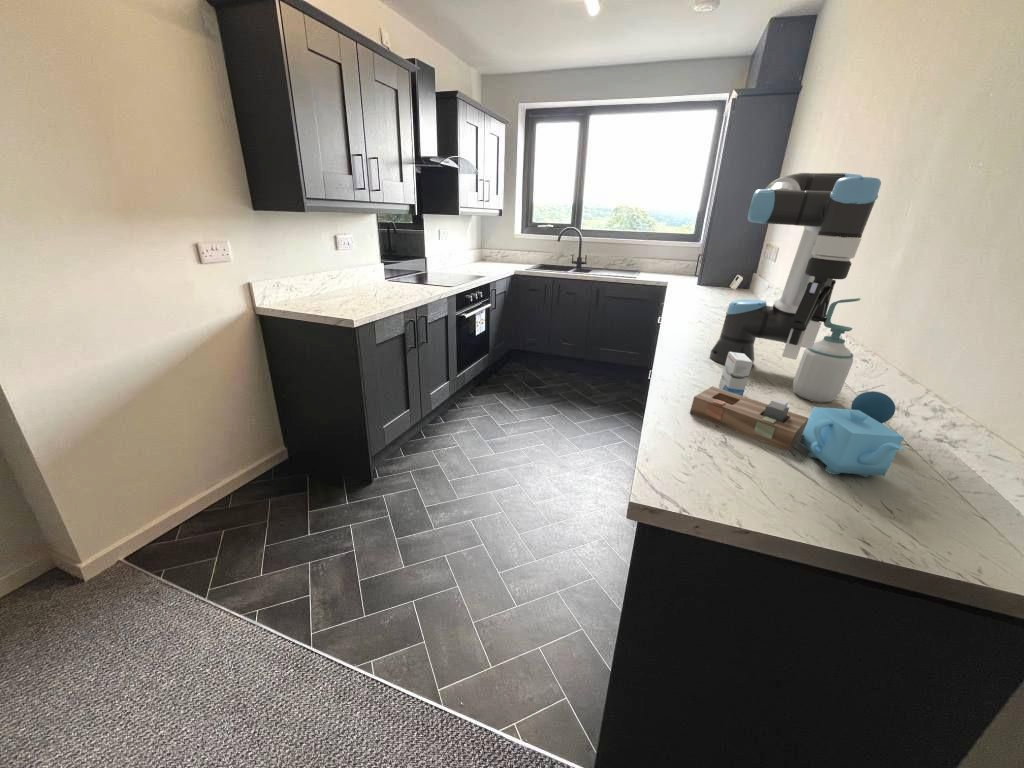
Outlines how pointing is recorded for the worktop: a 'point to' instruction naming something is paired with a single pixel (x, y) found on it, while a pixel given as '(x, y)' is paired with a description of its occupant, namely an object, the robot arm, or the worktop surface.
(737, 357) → the ink box
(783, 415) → the plug
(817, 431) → the teapot
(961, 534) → the worktop surface
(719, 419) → the socket block
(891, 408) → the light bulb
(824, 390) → the soap bottle
